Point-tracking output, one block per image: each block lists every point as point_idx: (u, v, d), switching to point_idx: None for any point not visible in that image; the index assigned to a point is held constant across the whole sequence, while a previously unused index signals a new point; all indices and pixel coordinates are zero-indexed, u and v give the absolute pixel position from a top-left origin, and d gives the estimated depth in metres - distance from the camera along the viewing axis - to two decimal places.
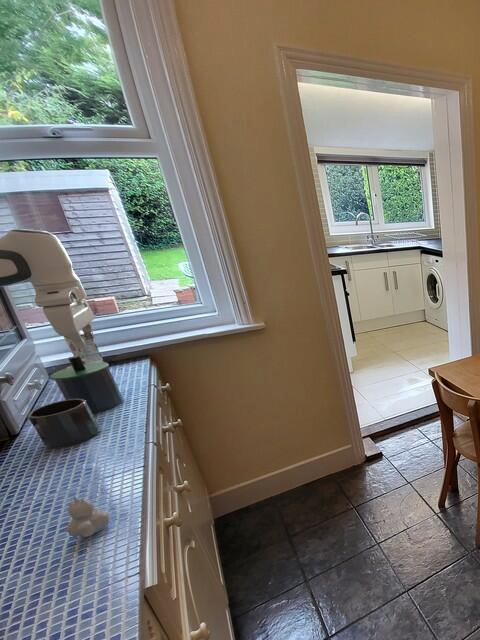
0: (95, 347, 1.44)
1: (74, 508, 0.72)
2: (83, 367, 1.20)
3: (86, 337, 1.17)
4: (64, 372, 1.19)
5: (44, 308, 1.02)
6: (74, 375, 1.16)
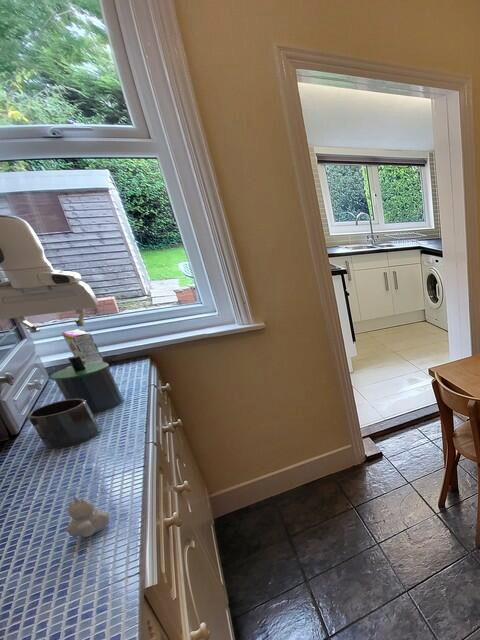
0: (95, 347, 1.44)
1: (74, 508, 0.72)
2: (83, 367, 1.20)
3: (37, 329, 1.13)
4: (64, 372, 1.19)
5: (77, 283, 1.13)
6: (74, 375, 1.16)
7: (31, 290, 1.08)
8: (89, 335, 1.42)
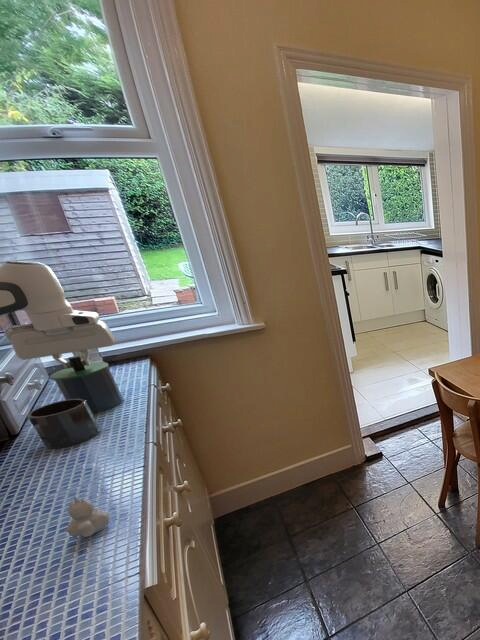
0: None
1: (74, 508, 0.72)
2: (83, 367, 1.20)
3: (70, 365, 1.19)
4: (64, 372, 1.19)
5: (96, 323, 1.18)
6: (74, 375, 1.16)
7: (52, 332, 1.13)
8: None
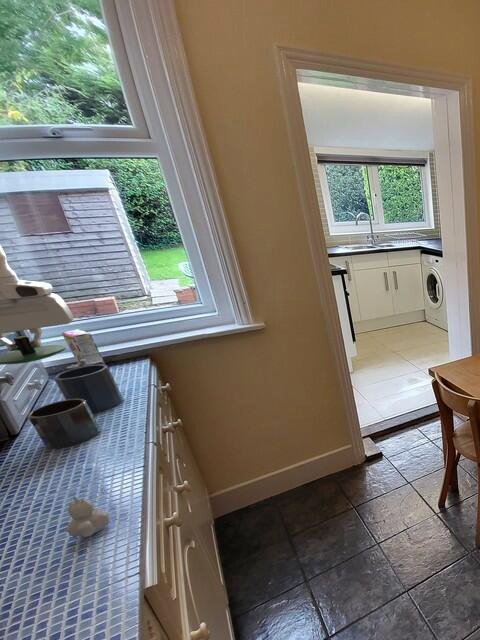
0: (95, 347, 1.44)
1: (74, 508, 0.72)
2: (33, 350, 0.99)
3: (17, 347, 0.98)
4: (9, 356, 0.98)
5: (47, 296, 0.96)
6: (19, 359, 0.95)
7: None
8: (89, 335, 1.42)
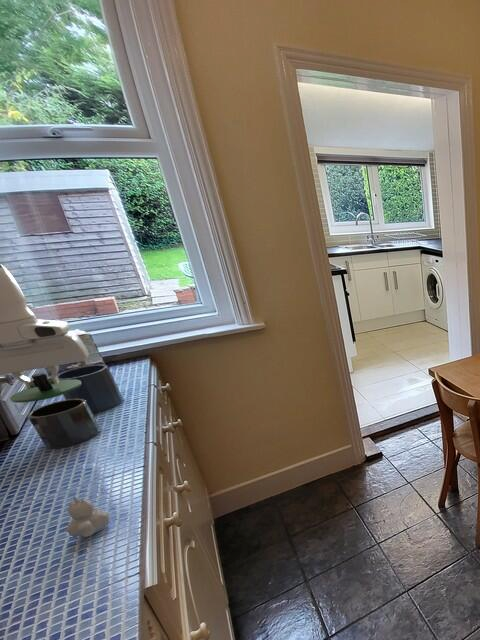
0: (95, 347, 1.44)
1: (74, 508, 0.72)
2: (50, 386, 1.02)
3: (35, 384, 1.00)
4: (27, 392, 1.01)
5: (64, 335, 0.99)
6: (38, 396, 0.98)
7: (11, 345, 0.95)
8: (89, 335, 1.42)
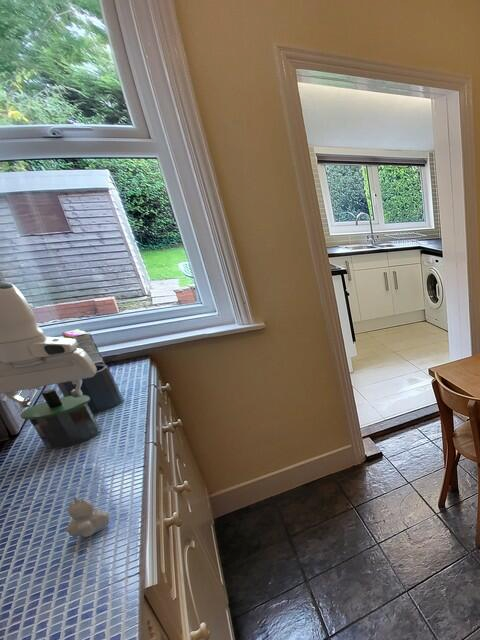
0: (95, 347, 1.44)
1: (74, 508, 0.72)
2: (59, 403, 1.04)
3: (28, 403, 1.01)
4: (37, 409, 1.02)
5: (73, 352, 1.01)
6: (48, 413, 1.00)
7: (21, 363, 0.96)
8: (89, 335, 1.42)
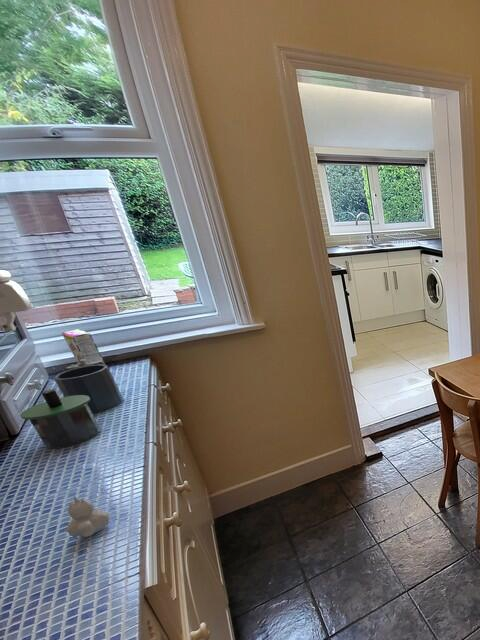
0: (95, 347, 1.44)
1: (74, 508, 0.72)
2: (59, 403, 1.04)
3: None
4: (37, 409, 1.02)
5: (4, 283, 0.99)
6: (48, 413, 1.00)
7: None
8: (89, 335, 1.42)
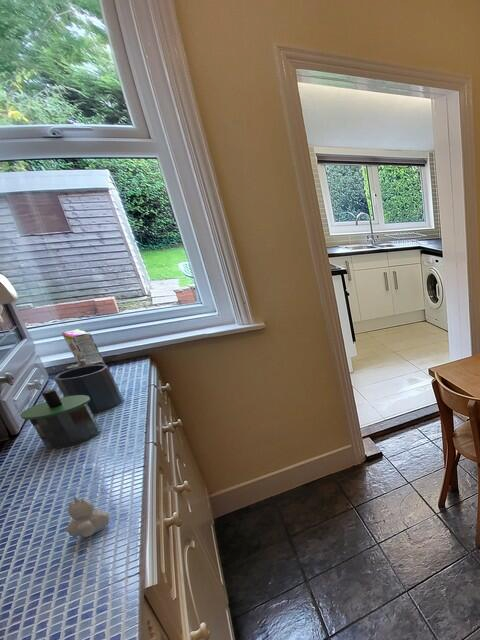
0: (95, 347, 1.44)
1: (74, 508, 0.72)
2: (59, 403, 1.04)
3: None
4: (37, 409, 1.02)
5: None
6: (48, 413, 1.00)
7: None
8: (89, 335, 1.42)
